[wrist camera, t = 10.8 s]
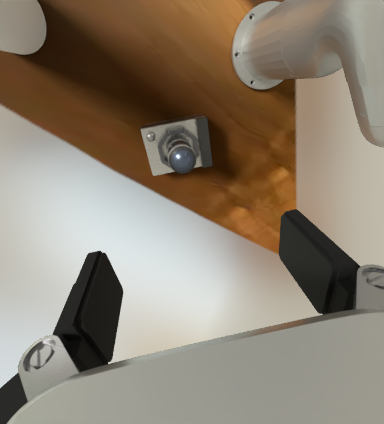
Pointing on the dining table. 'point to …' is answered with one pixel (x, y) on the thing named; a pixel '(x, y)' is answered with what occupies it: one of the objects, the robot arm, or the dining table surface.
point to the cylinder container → (21, 26)
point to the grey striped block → (165, 130)
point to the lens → (180, 155)
